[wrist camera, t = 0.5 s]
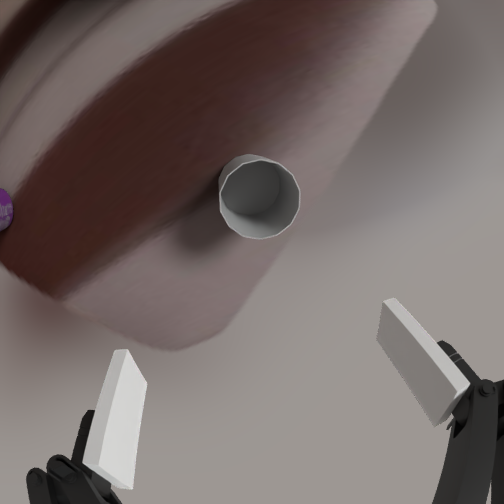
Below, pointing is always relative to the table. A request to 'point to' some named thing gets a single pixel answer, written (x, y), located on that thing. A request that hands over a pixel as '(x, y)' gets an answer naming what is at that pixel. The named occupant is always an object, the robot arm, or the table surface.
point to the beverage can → (5, 209)
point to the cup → (258, 196)
